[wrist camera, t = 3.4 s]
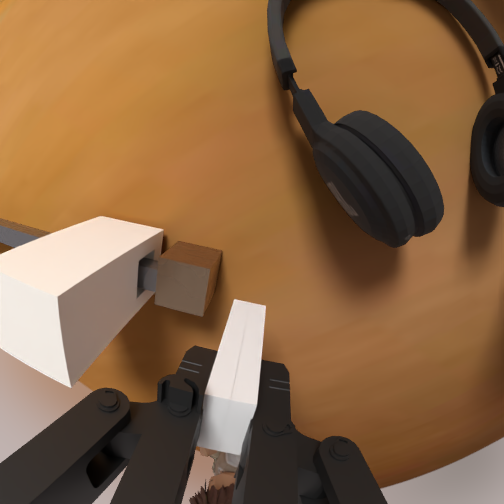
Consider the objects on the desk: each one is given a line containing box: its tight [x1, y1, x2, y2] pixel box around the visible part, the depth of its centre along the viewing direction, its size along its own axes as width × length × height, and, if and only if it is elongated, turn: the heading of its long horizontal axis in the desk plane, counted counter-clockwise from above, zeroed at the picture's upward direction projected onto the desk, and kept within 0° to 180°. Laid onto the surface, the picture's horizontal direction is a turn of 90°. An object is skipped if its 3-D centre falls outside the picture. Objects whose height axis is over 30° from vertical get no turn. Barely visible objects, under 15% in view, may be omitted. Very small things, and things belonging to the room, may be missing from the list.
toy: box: [189, 447, 241, 504], centre depth 16 cm, size 6×6×15 cm
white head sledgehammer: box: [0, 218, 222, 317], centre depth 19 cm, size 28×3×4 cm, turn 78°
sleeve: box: [0, 216, 164, 388], centre depth 15 cm, size 5×4×11 cm
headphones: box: [267, 0, 504, 248], centre depth 13 cm, size 17×7×20 cm
